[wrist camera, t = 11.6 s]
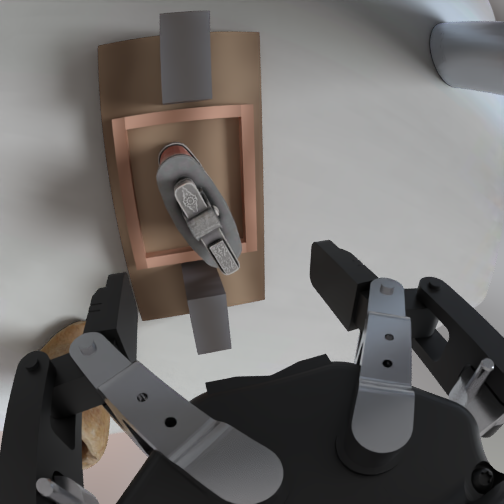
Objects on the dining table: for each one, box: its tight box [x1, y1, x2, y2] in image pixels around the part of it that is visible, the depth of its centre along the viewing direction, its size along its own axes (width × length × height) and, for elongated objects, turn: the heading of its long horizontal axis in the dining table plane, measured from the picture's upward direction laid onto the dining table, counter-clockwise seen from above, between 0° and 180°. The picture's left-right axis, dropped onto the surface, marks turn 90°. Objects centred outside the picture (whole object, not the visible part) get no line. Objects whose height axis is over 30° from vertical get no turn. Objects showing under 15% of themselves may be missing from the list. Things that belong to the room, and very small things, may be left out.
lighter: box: [156, 142, 242, 275], centre depth 20 cm, size 8×3×10 cm, turn 23°
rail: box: [98, 11, 265, 355], centre depth 23 cm, size 13×26×8 cm, turn 1°
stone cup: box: [40, 321, 110, 470], centre depth 24 cm, size 15×12×15 cm
